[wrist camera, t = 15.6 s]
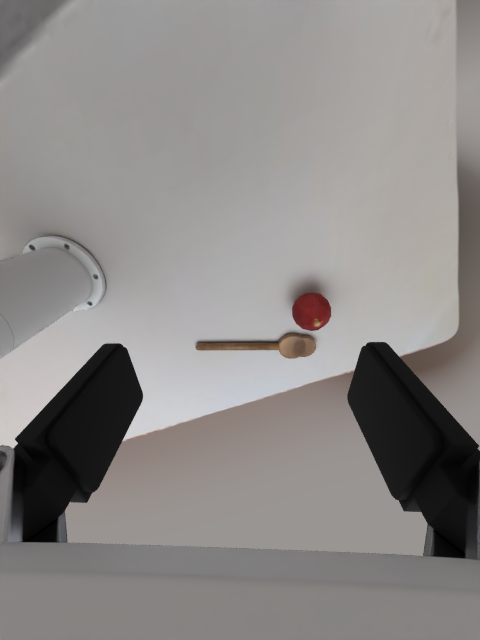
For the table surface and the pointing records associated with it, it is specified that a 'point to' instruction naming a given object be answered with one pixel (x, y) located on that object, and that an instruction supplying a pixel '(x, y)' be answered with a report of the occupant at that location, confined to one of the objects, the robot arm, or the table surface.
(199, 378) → the table surface
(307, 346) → the spoon
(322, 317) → the onion
